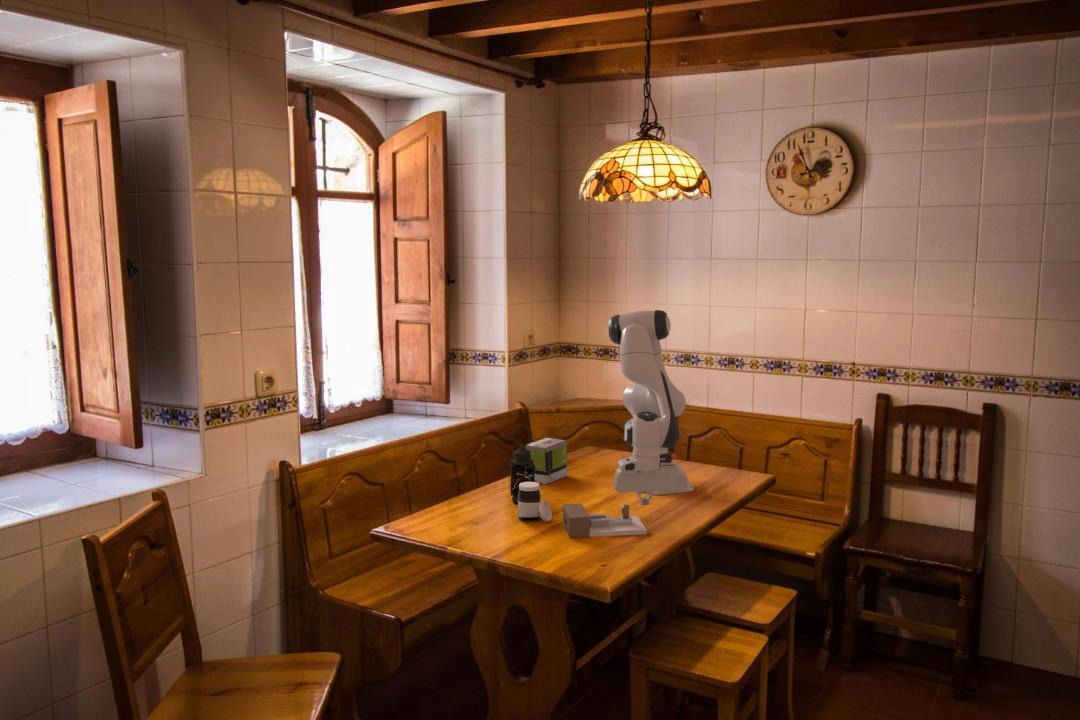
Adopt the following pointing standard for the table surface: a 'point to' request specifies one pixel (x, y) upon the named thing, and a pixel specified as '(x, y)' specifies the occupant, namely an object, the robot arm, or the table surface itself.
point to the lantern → (521, 469)
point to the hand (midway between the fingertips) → (644, 504)
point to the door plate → (596, 524)
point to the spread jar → (532, 503)
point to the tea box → (548, 459)
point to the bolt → (620, 520)
